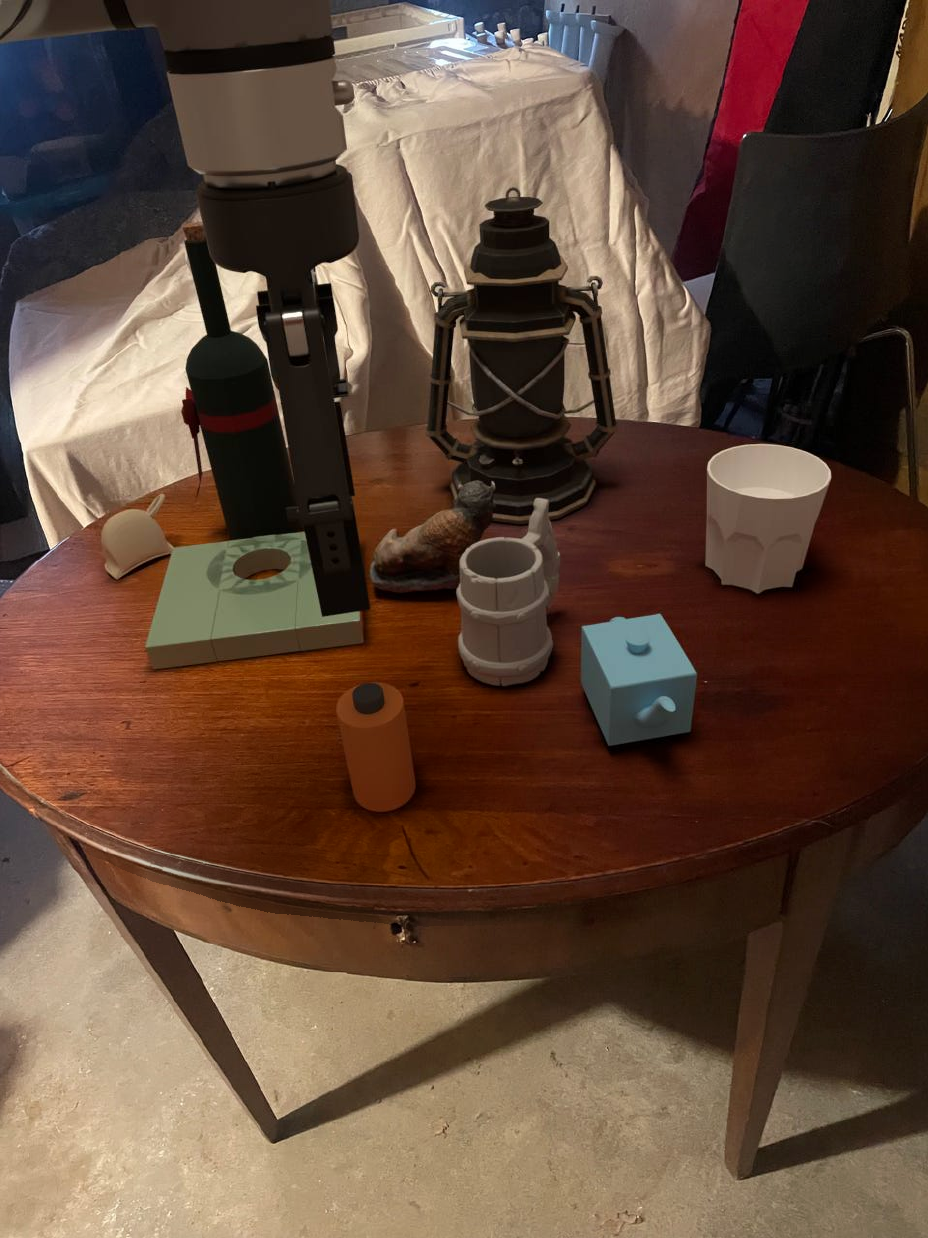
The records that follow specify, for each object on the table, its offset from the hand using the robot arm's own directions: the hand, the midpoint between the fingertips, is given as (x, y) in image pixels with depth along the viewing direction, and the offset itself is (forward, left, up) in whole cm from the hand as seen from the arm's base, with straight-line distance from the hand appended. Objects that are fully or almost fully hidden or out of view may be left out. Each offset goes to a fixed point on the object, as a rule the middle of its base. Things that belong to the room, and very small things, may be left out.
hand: (340, 547), depth 55 cm
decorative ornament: (-23, +32, -18) cm, 43 cm away
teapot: (+19, -1, -18) cm, 26 cm away
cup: (+35, +17, -18) cm, 43 cm away
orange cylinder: (0, -4, -18) cm, 18 cm away
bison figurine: (+6, +21, -18) cm, 28 cm away
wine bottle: (-12, +35, -18) cm, 41 cm away
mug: (+12, +10, -18) cm, 24 cm away
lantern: (+17, +37, -18) cm, 45 cm away
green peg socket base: (-10, +21, -18) cm, 29 cm away
